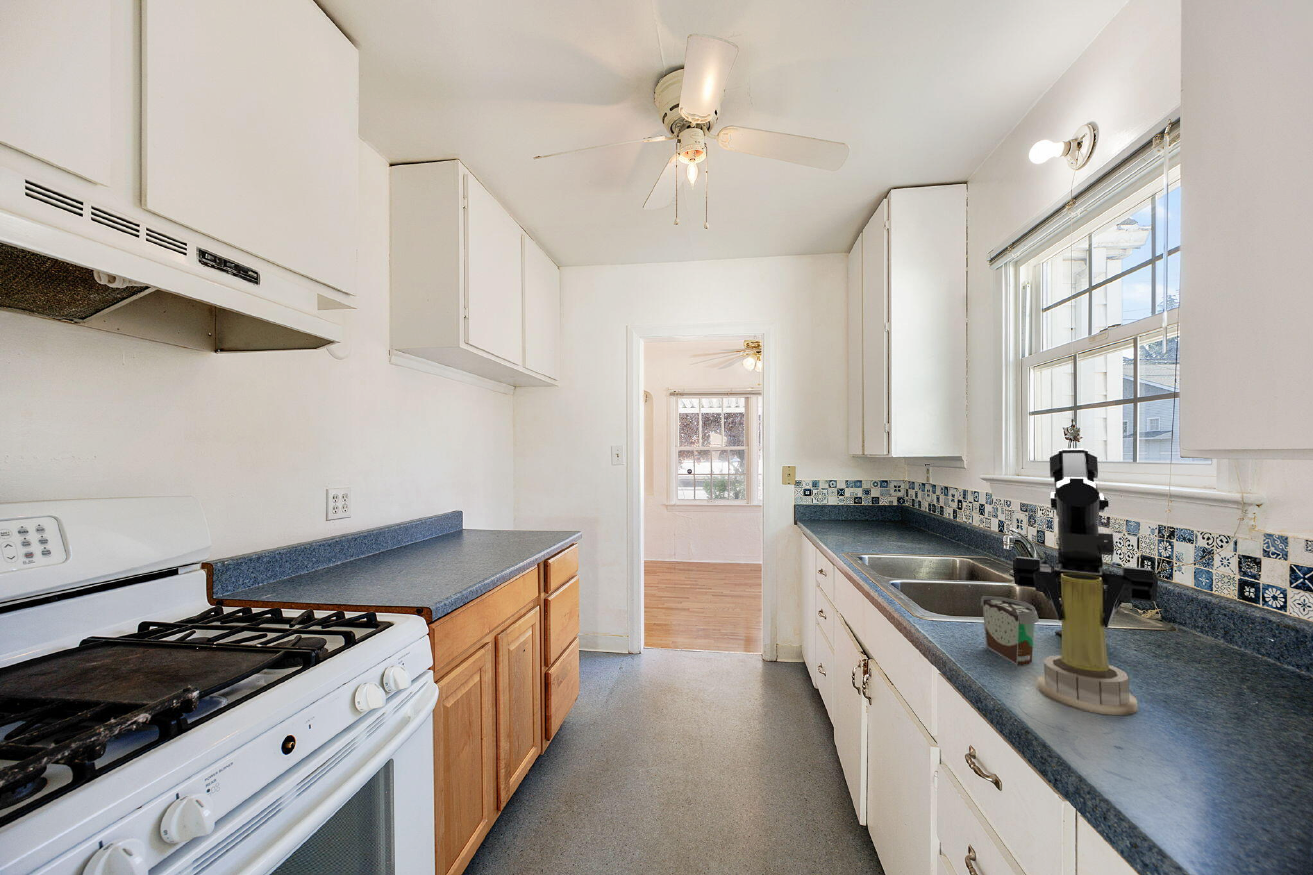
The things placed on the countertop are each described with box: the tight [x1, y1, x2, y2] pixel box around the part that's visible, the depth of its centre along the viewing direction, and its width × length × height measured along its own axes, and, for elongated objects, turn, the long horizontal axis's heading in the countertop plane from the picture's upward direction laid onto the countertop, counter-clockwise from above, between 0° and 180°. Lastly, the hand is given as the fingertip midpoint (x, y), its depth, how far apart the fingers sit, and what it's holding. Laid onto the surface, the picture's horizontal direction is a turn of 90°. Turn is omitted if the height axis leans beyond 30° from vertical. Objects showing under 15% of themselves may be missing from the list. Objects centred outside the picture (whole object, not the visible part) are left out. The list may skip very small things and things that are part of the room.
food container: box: [980, 595, 1040, 666], centre depth 101 cm, size 12×6×10 cm, turn 179°
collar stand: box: [1037, 655, 1138, 716], centre depth 84 cm, size 12×12×4 cm
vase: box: [1060, 573, 1110, 672], centre depth 85 cm, size 6×6×14 cm
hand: (1082, 622), depth 83 cm, fingers closed on vase, 5 cm apart
